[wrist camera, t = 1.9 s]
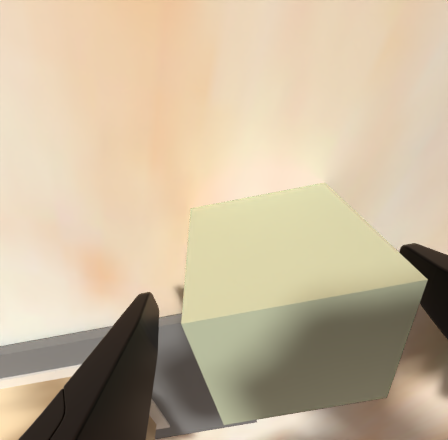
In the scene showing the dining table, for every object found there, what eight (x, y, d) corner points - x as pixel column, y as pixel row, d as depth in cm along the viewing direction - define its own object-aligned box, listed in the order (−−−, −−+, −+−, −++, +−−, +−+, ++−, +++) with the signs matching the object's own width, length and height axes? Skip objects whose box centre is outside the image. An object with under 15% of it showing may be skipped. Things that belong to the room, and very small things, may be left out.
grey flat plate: (228, 305, 12) (229, 316, 12) (255, 413, 18) (257, 424, 18) (-87, 362, 13) (-100, 375, 12) (44, 449, 19) (39, 460, 18)
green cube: (323, 181, 9) (428, 279, 5) (320, 279, 12) (386, 397, 8) (190, 207, 9) (180, 324, 5) (216, 297, 12) (224, 425, 8)
